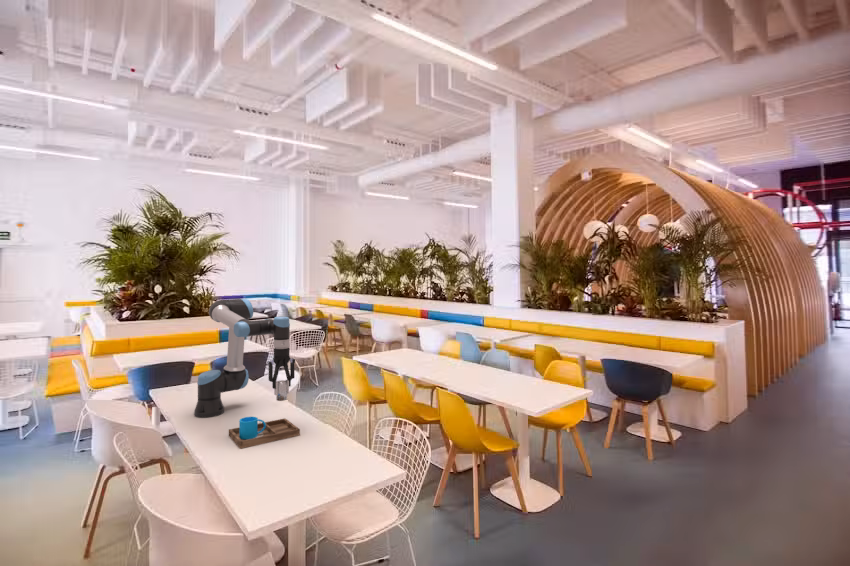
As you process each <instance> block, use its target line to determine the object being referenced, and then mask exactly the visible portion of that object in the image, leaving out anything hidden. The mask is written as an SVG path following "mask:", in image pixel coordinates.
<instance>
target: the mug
mask: <svg viewBox="0 0 850 566" xmlns="http://www.w3.org/2000/svg"><path fill="white" fill-rule="evenodd" d="M238 422H239V426H238V428H239V438H240V439H253V438H255V437H257V436H258V434H259V433H261V432H262V431H264V429H265V427H266V424H265V422H266V421H264V419H258V417H256V416H244V417H242V418H240V419H239V421H238ZM259 422H260V423H263V424H264V427H263V429H262V430H261V431H259V432H258V424H259Z"/></svg>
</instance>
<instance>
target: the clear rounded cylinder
mask: <svg viewBox="0 0 850 566" xmlns="http://www.w3.org/2000/svg"><path fill="white" fill-rule="evenodd" d="M276 382H278V395H277V396H276V395H275V397H276V401H277V402H282V401H286V400H288V394H287V381H286V379H285V380H283V379H282V380H276Z"/></svg>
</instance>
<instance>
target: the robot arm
mask: <svg viewBox="0 0 850 566" xmlns="http://www.w3.org/2000/svg"><path fill="white" fill-rule="evenodd" d="M208 315H209V317H210V319H211V320H213V321H214V322H215V323H216V322H217V323H221V324H223V325H225V326H226V327H228V339H227V340H228V341H227V342H228V343H227V356H226V365H224V367H223V371H221V369H214V370H213V369H212V370H208V371H203V372H201V373H200V374H199V375H198V376H197V384H196V385H197V402H196V405H195V408H194V412H193V415H194V417H196V418H212V417H216V416H220V415H222V414H224V413H225V406H224V404H223V401H222V398H221V395H222V393H226V392H234V391H238V390H242V389H244V388H245V387H246V386H247V385H248V383H249V379H250V375H249V371H248V369H246V366H245V365H244V354H245V353H244V349H245V338H246V337H255V336H266V335H267V336H268V335H273V347H274V348H273V358H272V360H268V361H267V365H268V381H269V382H271V383H272V389H273V390H274V392H273V393H274V395H275V397H276V396H277V395H278V382H277V381H278V380H277V379H278V375H279V371H280V369H281V367H283V369H284V373H285V376H286V379H285V381H287V395H289V394H290V387H291V385H292V384H291V381H292V379H295V363H296V358H291V356H290V335H291V333H290V329H291V328H290V326H291V325H290V324H291V323H290V317H288V316H274V318H265V319H257V320H251V319H252V318H253V316H254V307H253V304H252V302H251V301H250V300H249V299H246V298H229V299H228V298H227V299H219V300H217V301H214V302H213V303H212V304H211V305H210V307H209V310H208ZM288 363H289V364H290V365H289V364H288ZM273 365H275V367H273ZM289 366H290V368H289ZM273 369H274V370H273ZM289 369H290V370H289Z"/></svg>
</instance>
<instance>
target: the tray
mask: <svg viewBox="0 0 850 566" xmlns="http://www.w3.org/2000/svg"><path fill="white" fill-rule="evenodd" d="M264 422H265V424H266V427H265V429H264V431H262V432H261V433H259V434H258V436H257V437H255V438H253V439H240V438H239V427H235V428H229V429H228V437H229V438H230V439H231V440H232V441H233V443H234V444H235V445H236V446H237V447H238V448H239V449H240V450H241V449H245V448H249V447H250V448H251V447H255V446H258V445H262V444H268V443H271V442H276V441H281V440H284V439H290V438H294V437H298V436H301V429H300V428H299V427H298V426H296V425H295V424H294V423H292V422H291V421H290V420H288V419H287V418H285V417H283V418H280V419H274V420H271V421H264ZM263 427H264V424H263V423H262V422H258V432H259V431H261V430H262V429H263Z"/></svg>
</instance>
